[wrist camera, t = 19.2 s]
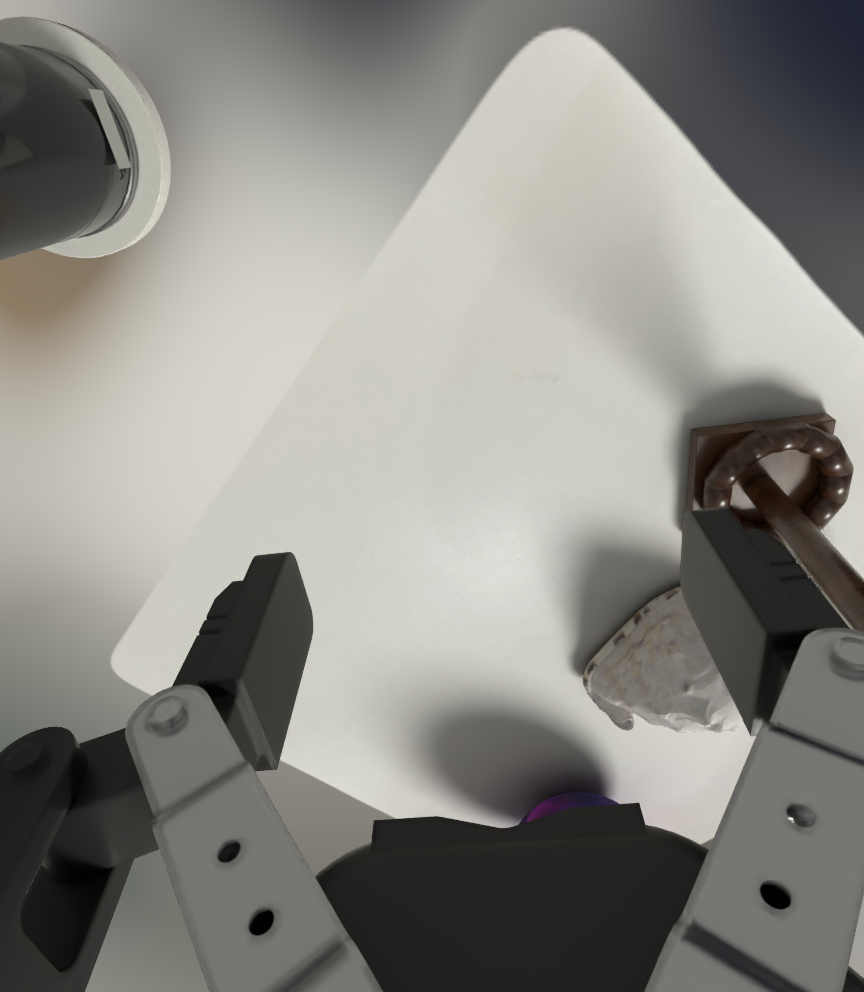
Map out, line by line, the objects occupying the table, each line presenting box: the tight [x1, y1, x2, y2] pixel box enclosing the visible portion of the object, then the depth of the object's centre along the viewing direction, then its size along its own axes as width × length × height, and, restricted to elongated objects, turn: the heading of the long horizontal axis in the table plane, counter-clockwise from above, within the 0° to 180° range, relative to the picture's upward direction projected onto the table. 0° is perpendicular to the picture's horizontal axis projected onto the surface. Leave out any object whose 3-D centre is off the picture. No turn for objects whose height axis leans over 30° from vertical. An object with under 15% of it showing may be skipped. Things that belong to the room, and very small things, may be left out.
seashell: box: [583, 587, 743, 733], centre depth 50 cm, size 12×14×10 cm
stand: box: [686, 414, 864, 632], centre depth 38 cm, size 9×9×17 cm
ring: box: [702, 423, 853, 547], centre depth 44 cm, size 10×10×2 cm
